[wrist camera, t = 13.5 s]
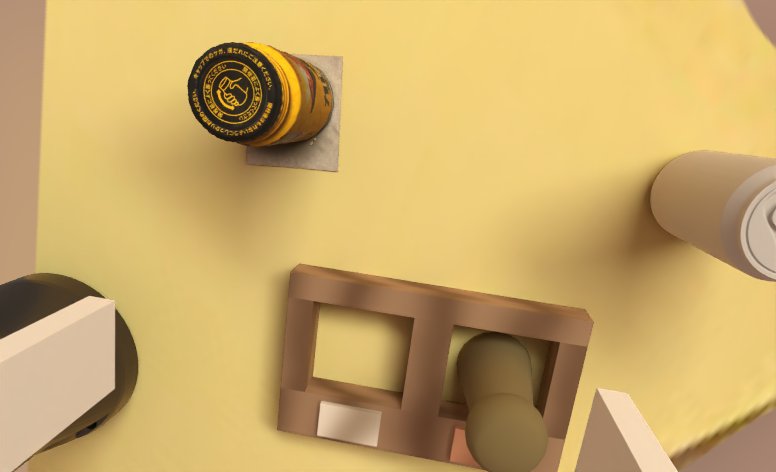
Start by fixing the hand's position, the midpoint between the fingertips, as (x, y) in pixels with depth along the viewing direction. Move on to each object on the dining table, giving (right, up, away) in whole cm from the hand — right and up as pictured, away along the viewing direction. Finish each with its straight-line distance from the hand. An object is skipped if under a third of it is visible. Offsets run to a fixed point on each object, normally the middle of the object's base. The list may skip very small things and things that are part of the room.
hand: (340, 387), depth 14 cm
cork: (+10, -7, +28) cm, 31 cm away
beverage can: (+23, +7, +23) cm, 34 cm away
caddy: (+4, -7, +29) cm, 30 cm away
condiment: (-6, +14, +26) cm, 30 cm away
